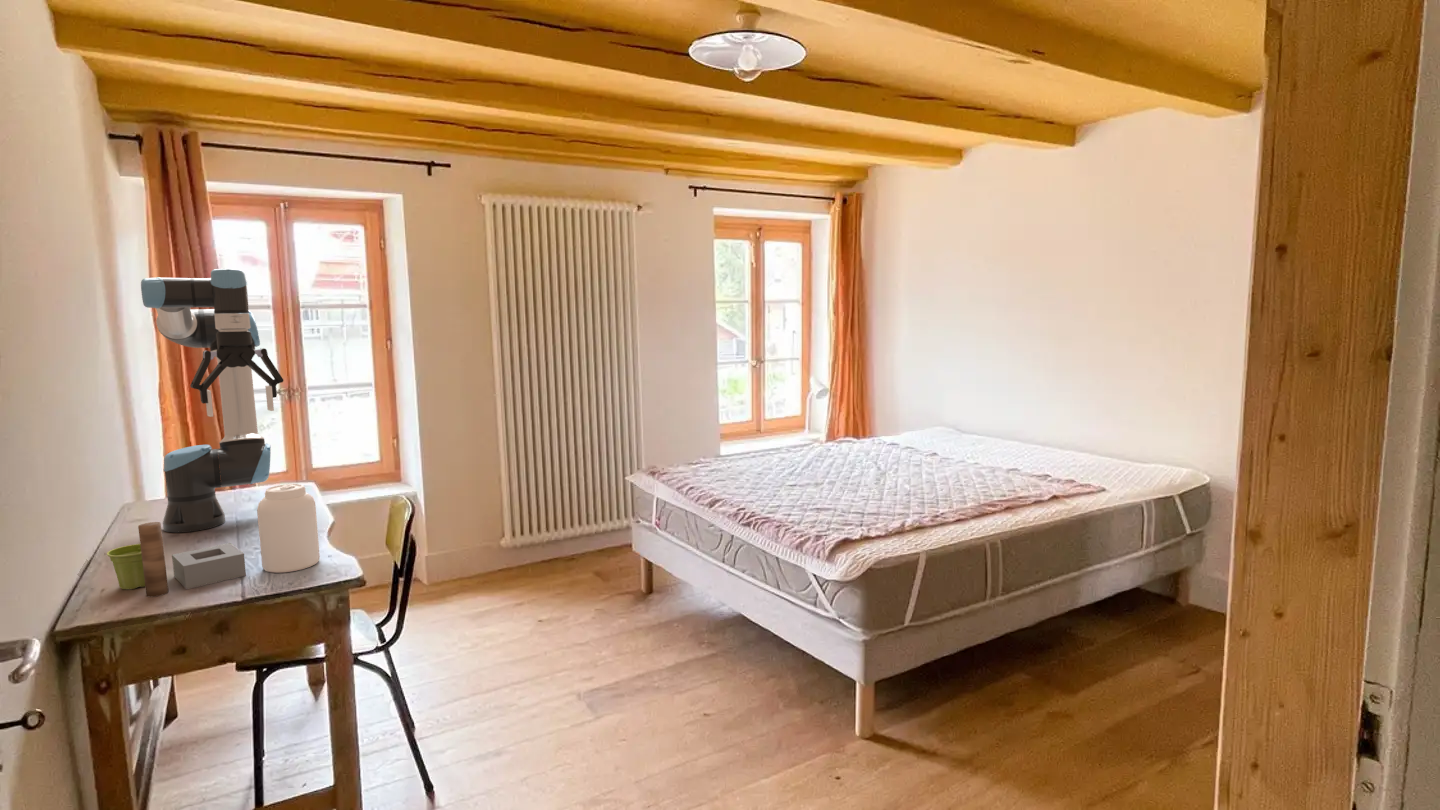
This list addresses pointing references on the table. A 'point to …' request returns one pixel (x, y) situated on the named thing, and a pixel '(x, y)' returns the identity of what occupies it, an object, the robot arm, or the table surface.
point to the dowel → (153, 559)
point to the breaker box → (208, 565)
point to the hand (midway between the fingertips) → (241, 413)
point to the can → (288, 529)
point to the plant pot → (128, 566)
